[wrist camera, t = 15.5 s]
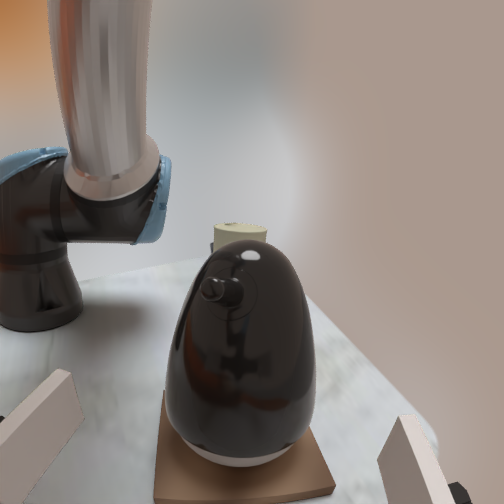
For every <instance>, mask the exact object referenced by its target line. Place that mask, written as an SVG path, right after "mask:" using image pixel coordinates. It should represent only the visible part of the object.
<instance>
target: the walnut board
mask: <svg viewBox="0 0 504 504" xmlns="http://www.w3.org/2000/svg"><path fill="white" fill-rule="evenodd" d="M335 487H336V484H335V482H334V480H333V477H332V475H331V473H330V471H329V469H328V466H327V464H326V462H325V460H324V458H323V455H322V453H321V451H320V449H319V447H318V444H317V442H316V440H315V438H314V436H313V433H312V431H311V429H310V427H308V429H307V430H306V432H305V433H304V435H303V436H302V437H301V438H300V439H299V440H298V441H296V442H295V443H294V444H293V445H292V446H291V447H290V448H289V449H288V450H287V451H286V452H284V453H283V454H282V455H280V456H279V457H277V458H275V459H273V460H271V461H269V462H266V463H263V464H260V465H256V466H249V467H232V466H226V465H221V464H218V463H215V462H212V461H210V460H208V459H206V458H204V457H202V456H200V455H199V454H197V453H196V452H195V451H194V450H192V449H191V448H190V447H189V446H188V445H187V444H186V443H185V441H184V440H183V439H182V437H181V436H180V434H179V433H178V432H177V431H176V430H175V429H174V427H173V426H172V424H171V423H170V421H169V418H168V416H167V412H166V406H165V390H164V391H163V399H162V408H161V416H160V425H159V435H158V445H157V456H156V468H155V481H154V496H153V498H154V501H155V504H275V503H283V502H290V501H296V500H302V499H308V498H313V497H318V496H323V495H328V494H332V492H333V490H334V489H335Z"/></svg>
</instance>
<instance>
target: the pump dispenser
mask: <svg viewBox="0 0 504 504" xmlns="http://www.w3.org/2000/svg"><path fill="white" fill-rule="evenodd" d="M315 395H316V358H315V347H314V338H313V331H312V324H311V318H310V313H309V308H308V304H307V301H306V297H305V294H304V291H303V288H302V285H301V283H300V280H299V278H298V276H297V274H296V272H295V270H294V268H293V266H292V265H291V263H290V261H289V260H288V258H287V257H286V256H285V255H284V254H283V253H282V252H280V251H279V250H278V249H276V248H275V247H274V246H272V245H270V244H268V243H265V242H262V241H259V240H253V239H243V240H237V241H233V242H230V243H228V244H225V245H223V246H222V247H220V248H218V249H217V250H216V251H214V252H213V253H212V254H211V255H210V256H209V258H208V259H207V260H206V261H205V263H204V264H203V266H202V267H201V269H200V270H199V272H198V273H197V275H196V277H195V279H194V280H193V282H192V284H191V286H190V289H189V291H188V293H187V295H186V298H185V300H184V303H183V306H182V309H181V312H180V315H179V318H178V321H177V325H176V328H175V332H174V335H173V339H172V343H171V348H170V352H169V358H168V364H167V372H166V382H165V406H166V412H167V416H168V418H169V421H170V423H171V424H172V426H173V427H174V429H175V430H176V431H177V432H178V433H179V434H180V436H181V437H182V439H183V440H184V441H185V443H186V444H187V445H188V446H189V447H190V448H191V449H192V450H194V451H195V452H196V453H197V454H199V455H200V456H202V457H204V458H206V459H208V460H210V461H212V462H215V463H218V464H221V465H226V466H232V467H249V466H256V465H260V464H263V463H266V462H269V461H271V460H273V459H275V458H277V457H279V456H280V455H282V454H283V453H284V452H286V451H287V450H288V449H289V448H290V447H291V446H292V445H293V444H294V443H295V442H296V441H298V440H299V439H300V438H301V437H302V436H303V435H304V433H305V432H306V430H307V429H308V427H309V425H310V422H311V419H312V416H313V411H314V406H315Z"/></svg>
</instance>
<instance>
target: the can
mask: <svg viewBox="0 0 504 504" xmlns="http://www.w3.org/2000/svg"><path fill="white" fill-rule="evenodd" d="M266 233H267V229H266V228H264V227H261V226H256V225H251V224H241V223H222V224H216V225H214V249H213V252H214V251H216V250H217V249H218V248H220V247H222V246H223V245H225V244H228V243H230V242H233V241H237V240H243V239H253V240H259V241H262V242H266Z"/></svg>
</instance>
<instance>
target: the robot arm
mask: <svg viewBox="0 0 504 504" xmlns="http://www.w3.org/2000/svg"><path fill="white" fill-rule="evenodd" d="M47 5H48V23H49V34H50V44H51V51H52V52H51V53H52V60H53V68H54V74H55V80H56V87H57V92H58V98H59V102H60V108H61V113H62V118H63V122H64V127H65V131H66V135H67V139H68V144H69V147H70V152H69V154H68V151H67V149H66V148H64V147H46V148H40V149H38V148H37V149H31V150H26V151H22V152H18V153H15V154H12V155H9V156H7V157H5V158H3V159H2V160H0V324H1V325H3V326H4V327H7V328H9V329H12V330H17V331H40V330H46V329H51V328H54V327H58V326H60V325H63V324H65V323H67V322H69V321H71V320H73V319H74V318H76V317H77V316H78V315H79V314H80V313H81V311H82V309H83V301H82V293H81V289H80V287H79V285H78V282H77V280H76V278H75V276H74V273H73V270H72V268H71V265H70V262H69V260H68V255H67V243H125V244H130V245H136V244H138V243H153V242H155V241H157V240H158V239H159V238H160V236H161V234H162V231H163V227H164V223H165V217H166V208H167V207H166V205H167V201H168V196H169V188H170V179H171V160H170V159H169V158H168V157H165V156H163V155H159V150H158V147H157V145H156V143H155V142H154V140H153V139H152V138H151V137H150V136H148V135H147V134H146V80H147V58H148V42H149V27H150V17H151V7H152V0H47ZM83 421H84V416H83V413H82V409H81V406H80V403H79V399H78V396H77V392H76V389H75V385H74V382H73V378H72V374H71V372H68V371H65V370H62V369H59V368H57V369H56V370H55V371H54V372H53V373H52V374H51V375H50V376H49V377H48V378H47V379H45V380H44V381H43V382H42V383H41V384H40V385H39V386H38V387H37V388H36V389H35V390H34V391H33V392H32V393H31V394H30V395H29V396H27V397H26V398H25V399H24V400H23V401H22V402H21V403H20V404H19V405H18V406H17V407H16V408H15V409H14V410H13V411H12V412H11V413H10V414H9V415H8V416H7V417H6V418H4V417H3V416H0V504H22V503H23V501H24V500H25V498H26V497H27V496H28V494H29V493H30V492H31V490H32V489H33V487H34V486H35V485H36V483H37V482H38V481H39V479H40V478H41V476H42V475H43V474H44V472H45V471H46V470H47V468H48V467H49V466H50V464H51V463H52V462H53V460H54V459H55V458H56V456H57V455H58V454H59V452H60V451H61V450H62V448H63V447H64V446H65V444H66V443H67V442H68V440H69V439H70V438H71V436H72V435H73V434H74V432H75V431H76V430H77V428H78V427H79V426H80V424H81V423H82V422H83ZM377 462H378V465H379V469H380V473H381V476H382V480H383V484H384V488H385V492H386V496H387V500H388V504H472V503H471V500H470V497H469V495H468V493H467V490H466V489H465V488H464V487H463V486H462V485H461V484H459V483H458V482H455V483H451V484H447V483H446V480H445V478H444V476H443V473H442V471H441V468H440V466H439V464H438V462H437V459H436V457H435V455H434V453H433V451H432V449H431V446H430V444H429V442H428V440H427V438H426V436H425V434H424V431H423V429H422V427H421V425H420V423H419V421H418V419H417V417H416V415H415V414H412V415H399V416H398V418H397V420H396V422H395V424H394V426H393V428H392V431H391V433H390V435H389V437H388V439H387V441H386V443H385V445H384V447H383V449H382V451H381V453H380V455H379V456H378V458H377Z"/></svg>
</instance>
